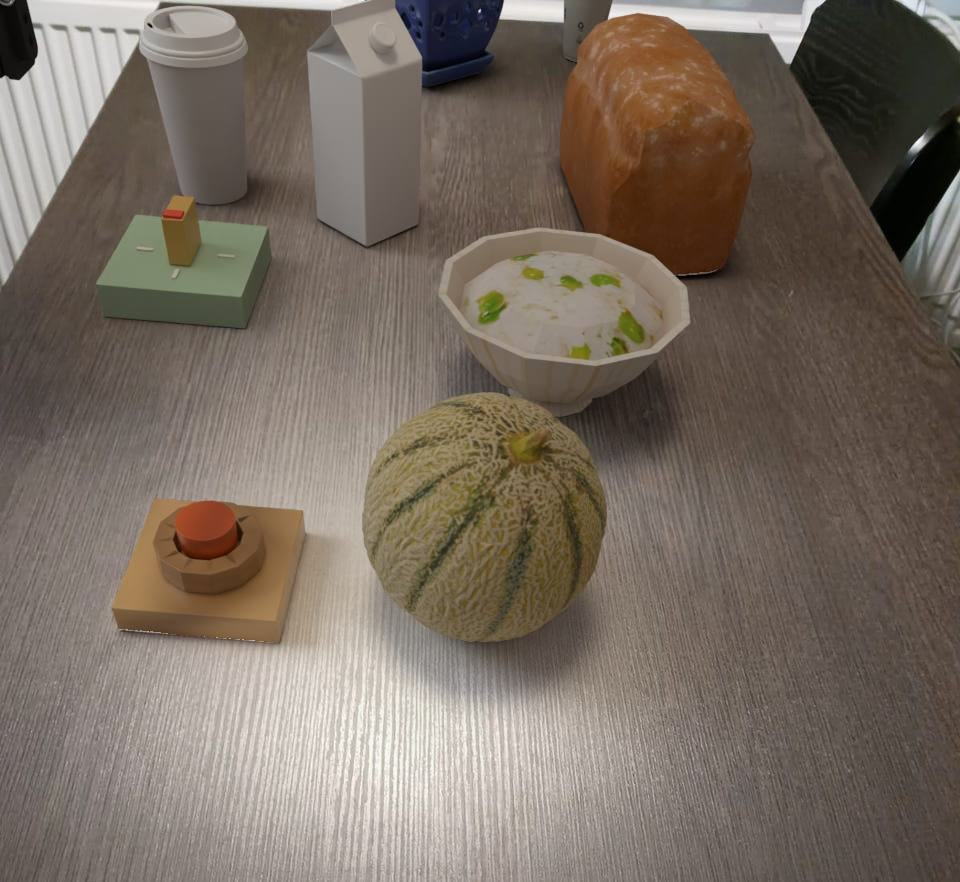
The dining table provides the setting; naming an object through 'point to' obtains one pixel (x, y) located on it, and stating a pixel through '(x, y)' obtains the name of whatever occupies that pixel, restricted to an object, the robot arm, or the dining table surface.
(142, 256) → the plate
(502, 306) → the bowl
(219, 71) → the coffee cup
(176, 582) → the tan square stand
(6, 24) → the robot arm
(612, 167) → the bread
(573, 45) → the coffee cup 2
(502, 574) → the cantaloupe
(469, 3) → the flower pot
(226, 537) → the bell button
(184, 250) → the wooden block red tab
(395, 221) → the milk carton
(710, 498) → the dining table surface
